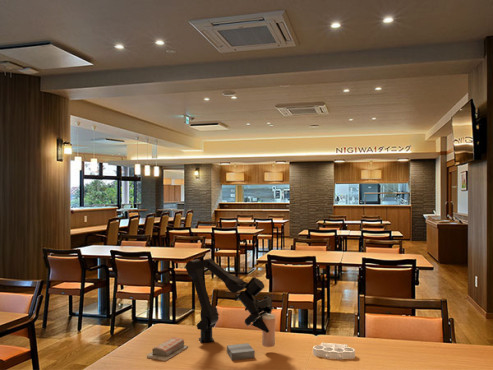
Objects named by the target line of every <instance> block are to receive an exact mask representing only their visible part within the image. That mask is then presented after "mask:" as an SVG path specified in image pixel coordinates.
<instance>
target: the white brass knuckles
mask: <svg viewBox="0 0 493 370" xmlns="http://www.w3.org/2000/svg"><path fill="white" fill-rule="evenodd" d="M312 355H313V356H315V357H322V358H325V359H329V360H331V359H335V360H344V359H346V360H347V359H348V360H353V359H355V358H356V350H355V348H353V347H349V345H348V344H347V343H346V344H345V343H342V344H340V343H335V342H333V343H330V342H329V343H328V342H321V343H320V344H315V345H314V346H313V347H312Z"/></svg>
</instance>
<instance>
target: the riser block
mask: <svg viewBox="0 0 493 370" xmlns="http://www.w3.org/2000/svg"><path fill="white" fill-rule="evenodd" d="M226 353H227V355H228V357H229V358H230V359H231V361H239V360H247V359H248V360H249V359H255V354H256V353H255V349H254V348H253V347H252V346H251V344H250V343H249V342H247V343H238V344H237V343H236V344H228V345H226Z"/></svg>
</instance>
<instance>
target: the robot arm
mask: <svg viewBox="0 0 493 370" xmlns="http://www.w3.org/2000/svg"><path fill="white" fill-rule="evenodd" d="M184 267H185V271H186V273H187V275H188V276H189V277H190V278H191V279H192V281H193V285H194V288H195V292H196V295H197V298H198V301H199V305H200V309H201V310H200V314H199V315H200V321H198V323H197V324H196V329H197V330H199V331H200V337H198V339H199V340H198V341H199V342H200V343H201V344H204V343H213V342H215V339H214V338H213V327H215V326H216V324H217V322H218V321H219V316H220V314H219V312H218V308H217V307H216V306H215V307H214V306H213V305H212V302H211V300H210V297H209V294H208V291H207V286H206V284H205V281H204V277H203V274H204V268H206V269H207V270H209V272H210V273H212V274H213V275H215V276H216V277H217V278H218V279H219V280H221V282H222V283H224V285H225V287H226V288H227V290H228V291H229V292H230V293H232V294H235V295H234V301H235V302H237V301H240V303H242V304H243V306H244V307H245V308H244V310H245V312H247V311H248V313H249V315H248V316H247V317H245V319H244V324H245V325H246V326H247V327H248V326H252V327H254V328H257V329H259V330H261V331H262V330H263V331H265V332H267V333H268V332H269V330H268V328H267V326H266V325H265V323H264V322H263V318H262V315H263V314H272V313H273V312H272V311H273V310H274V306H273V305H272V298H271V297H270V296H269V295H266V296H264V297H263V299H262V300H260V299H258V298H257V299H256V298H255V297H256V296H258V295H259V294H260V293H261V292H262V290H264V289H265V283H264V282H263V281H262V280H260V279H259V278H257V277H256V276H253V277H252V278H251V279H250V281H248V282H247V281H244V279H243V278H240V277H239V276H235V275H234V274H232V273H230V272H228V271H227V270H226V269H225V268H223V267H222V266H221V265H219V264H218V263H217V262H215V260H214V259H213V258H210V257H209V258H205V259H203V260H200V259H198V258H197V259H193V260H192V259H191V260H188V261H187V262H186V263H185V266H184ZM236 293H238V294H236Z"/></svg>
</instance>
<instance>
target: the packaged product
mask: <svg viewBox="0 0 493 370" xmlns="http://www.w3.org/2000/svg"><path fill="white" fill-rule="evenodd" d="M188 348H189V345H185V340H184V339H183V338H182V337H175V336H173V337H171V338H169V339H167V340H165V341H163V342H162V343H160V344H158V345H156V346H154V347H153V348H152V351H151V352H150V353H147V354H146V358H148V359H153V360H159V361H163V362H167V361H169V360H170V358H173V357H175V356H177V355H178V354H180V353H181V352H183V351H184V350H187V349H188Z"/></svg>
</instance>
